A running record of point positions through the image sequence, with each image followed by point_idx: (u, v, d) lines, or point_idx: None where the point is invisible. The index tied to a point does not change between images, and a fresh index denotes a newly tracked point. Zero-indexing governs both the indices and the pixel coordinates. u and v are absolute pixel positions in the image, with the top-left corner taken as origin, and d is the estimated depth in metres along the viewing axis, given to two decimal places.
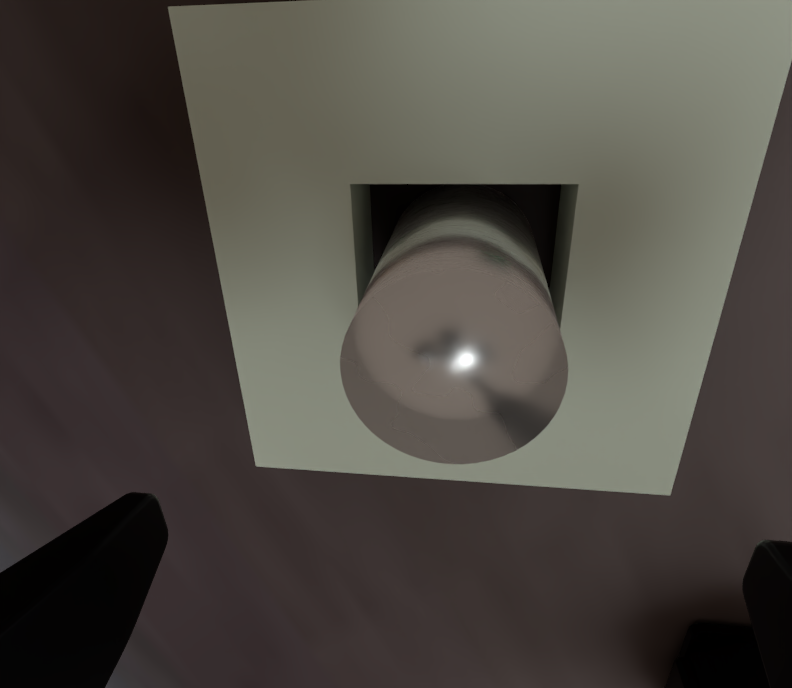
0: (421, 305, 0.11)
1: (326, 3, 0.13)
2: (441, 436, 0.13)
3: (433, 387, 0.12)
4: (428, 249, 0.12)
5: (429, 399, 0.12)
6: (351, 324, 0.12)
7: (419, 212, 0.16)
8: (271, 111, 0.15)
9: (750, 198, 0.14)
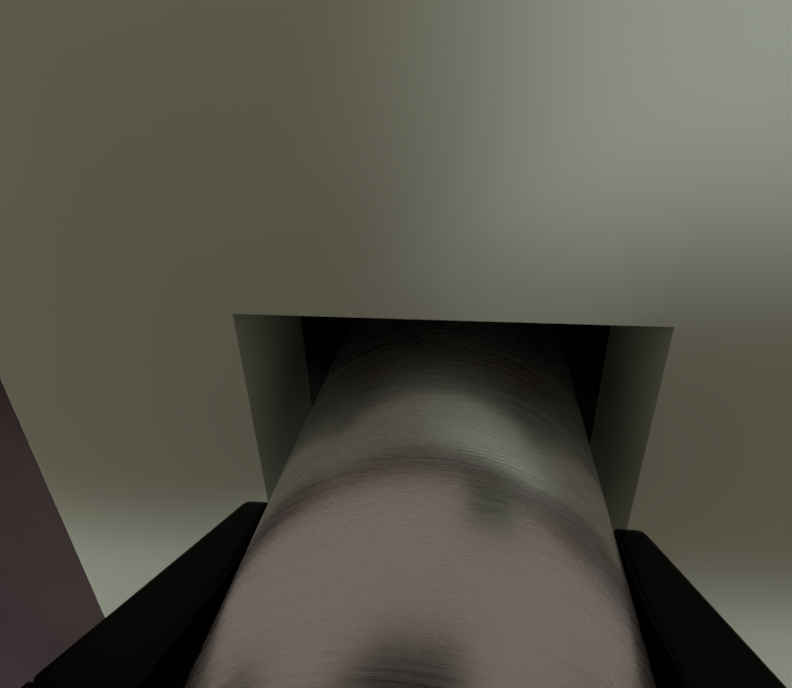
0: None
1: None
2: None
3: None
4: (352, 552, 0.05)
5: None
6: None
7: (367, 356, 0.09)
8: (67, 182, 0.07)
9: None
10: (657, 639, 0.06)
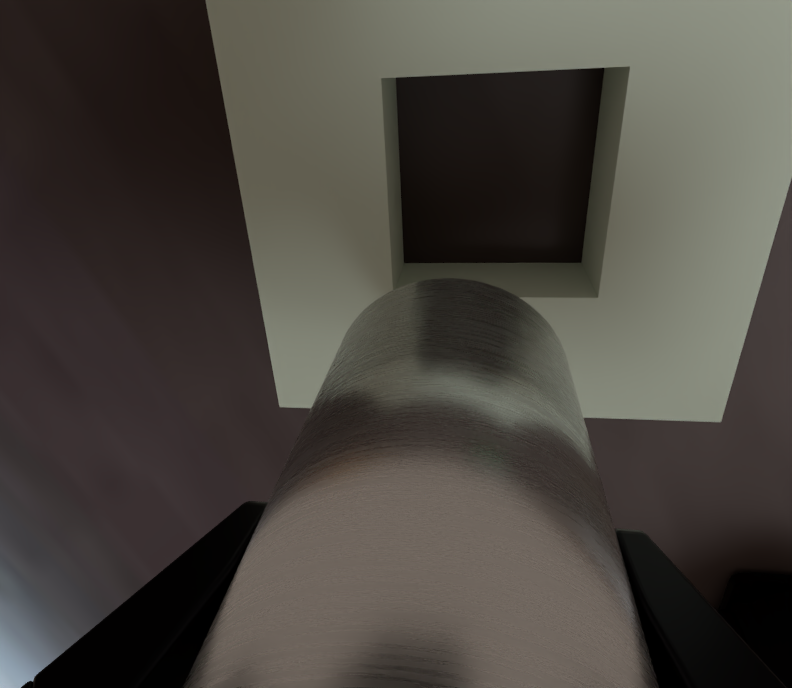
0: None
1: None
2: None
3: None
4: (352, 549, 0.05)
5: None
6: None
7: (367, 354, 0.09)
8: None
9: None
10: (657, 639, 0.06)
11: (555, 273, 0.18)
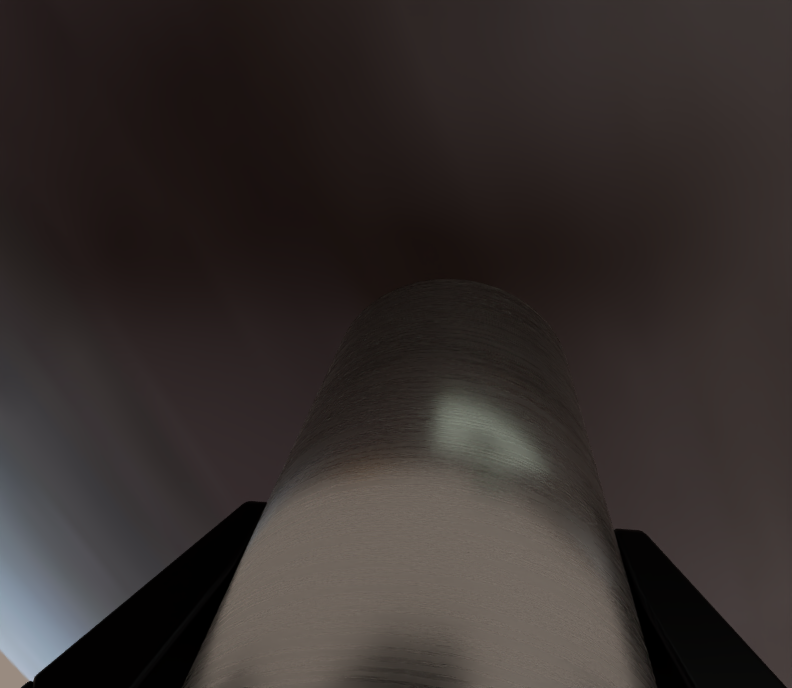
0: None
1: None
2: None
3: None
4: (351, 551, 0.05)
5: None
6: None
7: (367, 355, 0.09)
8: None
9: None
10: (657, 639, 0.06)
11: None
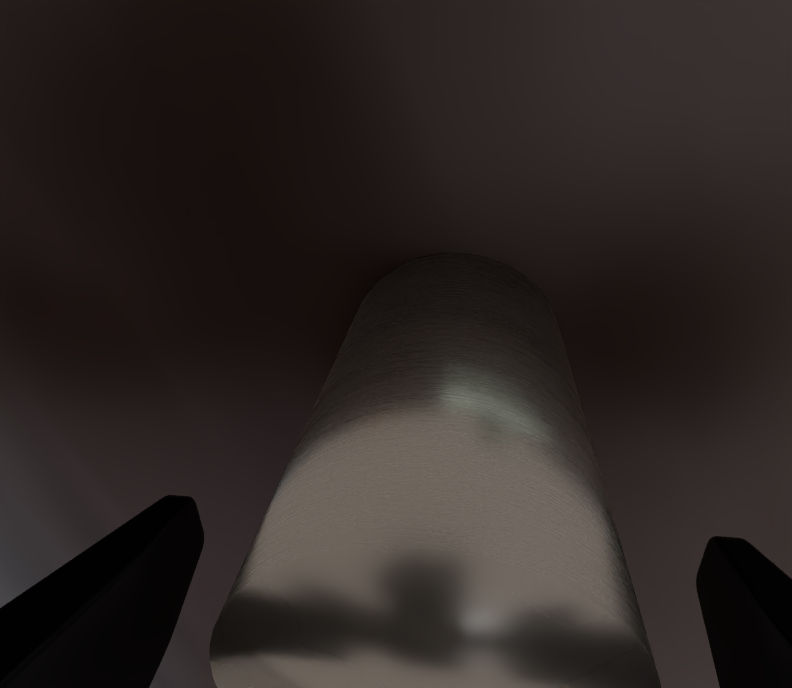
0: (358, 598, 0.05)
1: None
2: None
3: None
4: (381, 447, 0.06)
5: None
6: (222, 615, 0.06)
7: (383, 315, 0.10)
8: None
9: None
10: (785, 652, 0.06)
11: None
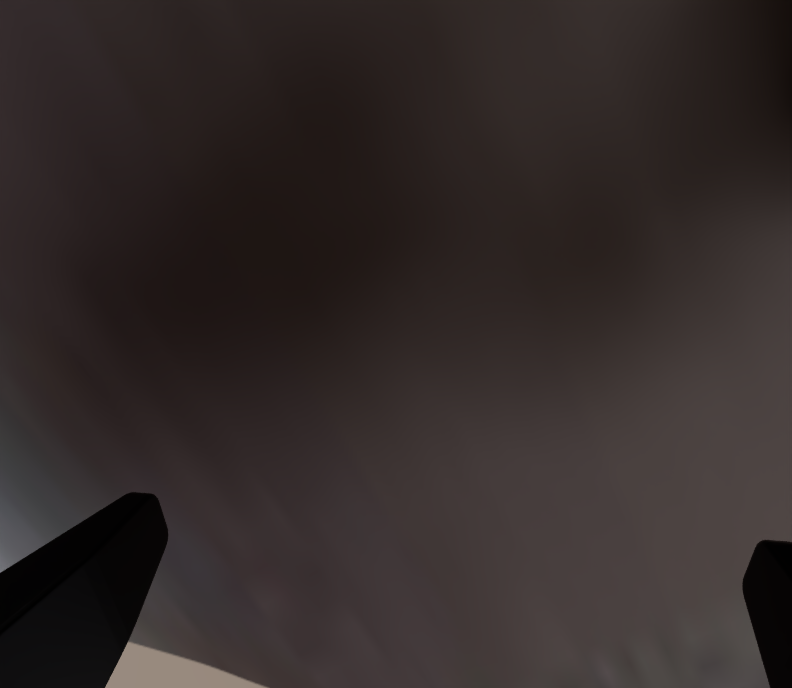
0: None
1: None
2: None
3: None
4: None
5: None
6: None
7: None
8: None
9: None
10: None
11: None
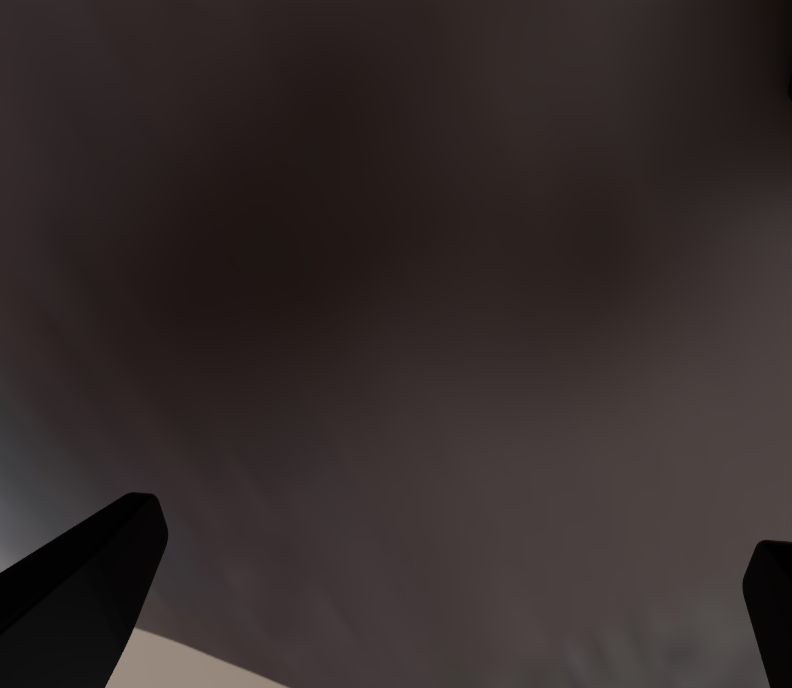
0: None
1: None
2: None
3: None
4: None
5: None
6: None
7: None
8: None
9: None
10: None
11: None
